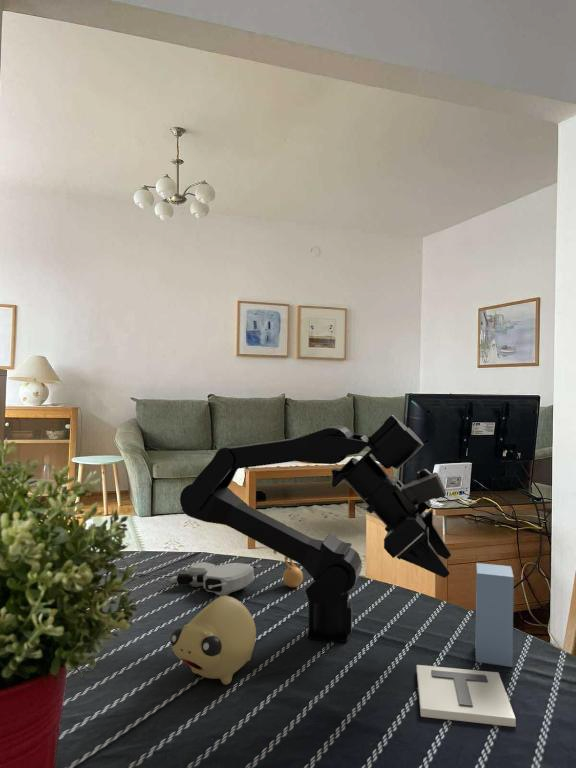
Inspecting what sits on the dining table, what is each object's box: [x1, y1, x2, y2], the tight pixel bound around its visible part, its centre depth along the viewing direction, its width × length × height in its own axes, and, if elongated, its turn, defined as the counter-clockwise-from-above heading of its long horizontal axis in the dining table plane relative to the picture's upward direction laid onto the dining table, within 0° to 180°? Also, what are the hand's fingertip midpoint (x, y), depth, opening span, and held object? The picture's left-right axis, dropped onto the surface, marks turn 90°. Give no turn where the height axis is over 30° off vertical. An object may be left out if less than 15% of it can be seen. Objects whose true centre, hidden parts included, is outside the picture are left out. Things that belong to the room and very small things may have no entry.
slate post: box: [474, 562, 515, 668], centre depth 86 cm, size 5×5×13 cm
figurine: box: [273, 524, 304, 588], centre depth 115 cm, size 8×6×12 cm
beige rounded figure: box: [170, 595, 257, 686], centre depth 79 cm, size 10×12×11 cm
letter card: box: [416, 664, 517, 728], centre depth 75 cm, size 11×11×1 cm
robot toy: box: [169, 561, 262, 597], centre depth 114 cm, size 12×4×15 cm
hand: (448, 565), depth 88 cm, fingers open, 9 cm apart
